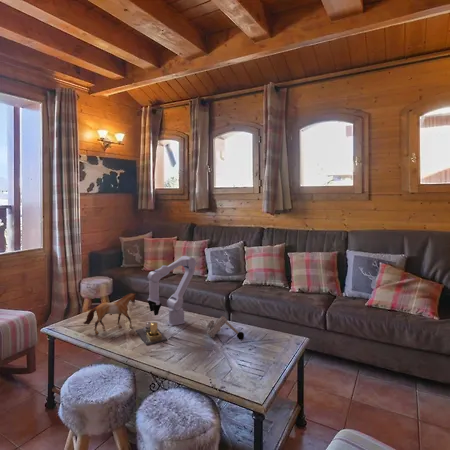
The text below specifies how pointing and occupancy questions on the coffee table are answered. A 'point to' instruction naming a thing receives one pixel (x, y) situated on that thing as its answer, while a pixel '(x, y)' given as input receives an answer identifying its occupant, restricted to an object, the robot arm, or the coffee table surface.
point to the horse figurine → (111, 310)
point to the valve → (216, 327)
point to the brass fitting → (153, 329)
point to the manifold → (146, 337)
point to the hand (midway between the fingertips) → (154, 312)
